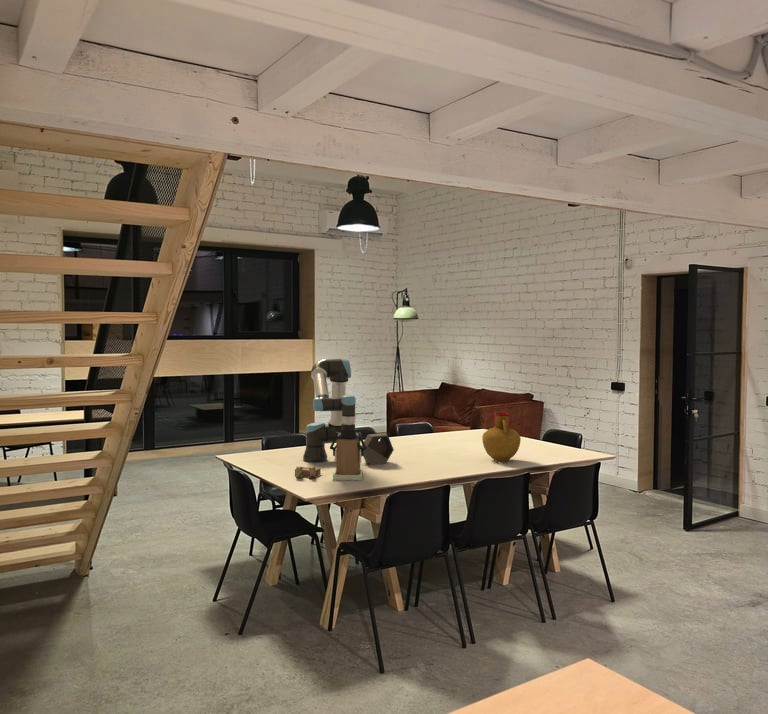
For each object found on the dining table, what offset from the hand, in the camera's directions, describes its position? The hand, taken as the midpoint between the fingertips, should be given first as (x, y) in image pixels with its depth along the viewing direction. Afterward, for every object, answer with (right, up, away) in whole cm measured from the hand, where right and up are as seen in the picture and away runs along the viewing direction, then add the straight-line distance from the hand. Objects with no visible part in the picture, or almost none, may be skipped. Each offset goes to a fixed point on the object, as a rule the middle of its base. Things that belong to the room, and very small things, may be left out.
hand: (348, 462), depth 366 cm
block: (0, -7, 0) cm, 7 cm away
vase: (+94, -8, +53) cm, 108 cm away
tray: (0, -9, 0) cm, 9 cm away
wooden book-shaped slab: (-23, -9, +6) cm, 25 cm away
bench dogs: (-23, -9, -2) cm, 25 cm away
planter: (+15, -8, +42) cm, 45 cm away
